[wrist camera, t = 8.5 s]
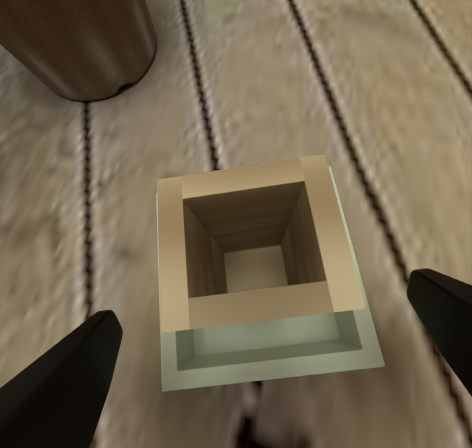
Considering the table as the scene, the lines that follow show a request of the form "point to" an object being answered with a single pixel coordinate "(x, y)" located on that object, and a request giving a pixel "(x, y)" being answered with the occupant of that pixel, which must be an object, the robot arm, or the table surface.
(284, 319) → the sage crate
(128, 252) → the table surface
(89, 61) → the plant pot
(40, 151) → the table surface
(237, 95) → the table surface
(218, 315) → the pine crate
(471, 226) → the table surface
